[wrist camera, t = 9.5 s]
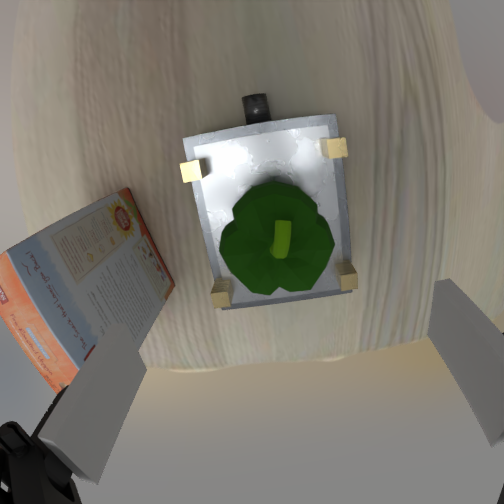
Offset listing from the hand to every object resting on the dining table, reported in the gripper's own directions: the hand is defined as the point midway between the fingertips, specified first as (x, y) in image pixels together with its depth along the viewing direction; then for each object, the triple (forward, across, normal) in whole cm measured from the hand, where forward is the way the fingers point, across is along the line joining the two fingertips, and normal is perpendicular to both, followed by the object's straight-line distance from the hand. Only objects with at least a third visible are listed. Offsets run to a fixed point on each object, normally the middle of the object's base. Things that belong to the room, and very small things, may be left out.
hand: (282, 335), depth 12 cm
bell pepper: (+18, 0, 0) cm, 18 cm away
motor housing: (+24, 0, +1) cm, 24 cm away
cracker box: (+24, -18, -2) cm, 30 cm away
